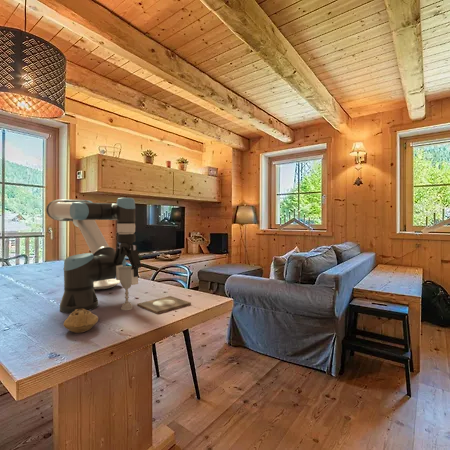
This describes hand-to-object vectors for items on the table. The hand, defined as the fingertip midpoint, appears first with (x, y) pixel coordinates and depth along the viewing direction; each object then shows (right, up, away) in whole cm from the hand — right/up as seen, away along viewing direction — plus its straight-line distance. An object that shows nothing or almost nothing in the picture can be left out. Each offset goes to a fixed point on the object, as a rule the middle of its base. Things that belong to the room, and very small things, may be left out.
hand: (126, 282), depth 126 cm
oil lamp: (-9, -13, -23) cm, 28 cm away
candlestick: (-29, -11, +36) cm, 47 cm away
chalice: (0, -12, 0) cm, 12 cm away
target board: (+15, -12, +5) cm, 20 cm away
